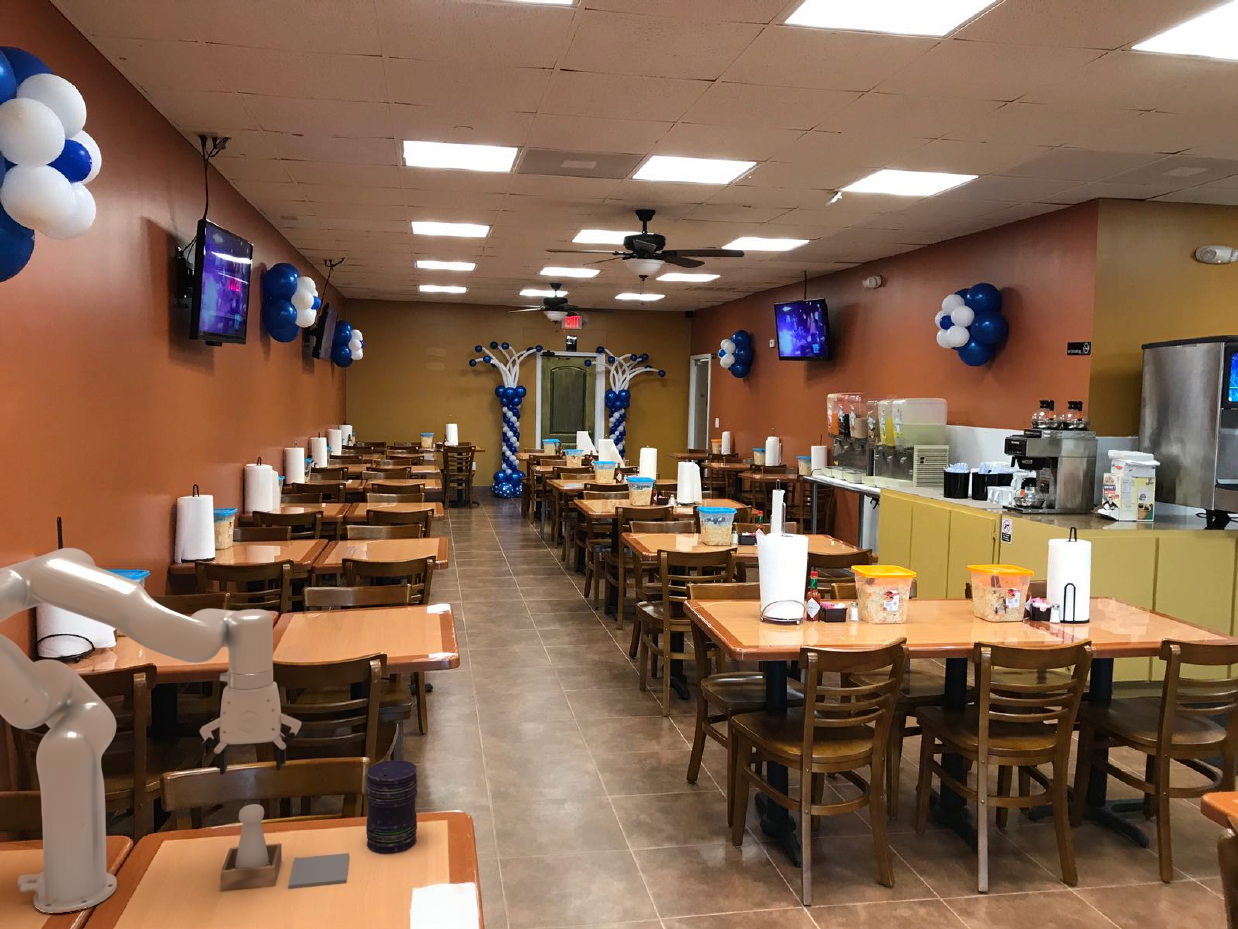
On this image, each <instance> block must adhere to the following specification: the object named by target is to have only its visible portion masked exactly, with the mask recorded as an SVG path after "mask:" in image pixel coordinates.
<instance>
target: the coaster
mask: <svg viewBox="0 0 1238 929" xmlns="http://www.w3.org/2000/svg"><path fill="white" fill-rule="evenodd" d="M349 858H350V853H349V852H348V853H336V854H325V855H316V856H315V855H314V856H305V857H304V856H303V857H295V858H293V863H292V868H291V871H290V877H289V879H288V880H289V881H288V885H287V888H288V889H297V888H304V887H303V886H308V887H317V886H327V885H328V886H329V885H337V883H338V884H346V883H347V877H348V867H349V861H348V860H350V859H349Z"/></svg>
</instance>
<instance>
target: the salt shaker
mask: <svg viewBox="0 0 1238 929" xmlns="http://www.w3.org/2000/svg"><path fill="white" fill-rule="evenodd" d="M264 815H265V810H264V807H263V806H262V805H260V804H256V803H255V804H253V803H252V804H247V805H245V806H244V807H241V809H240V810H239V813H238V820H239V822H240V823H241V824H242V825H241V830H240V836H239V843H238V846H237V847H238V853H237V858H236V863H235V867H234V869H244V868H255V867H266V866H268V865H269V864H268V862H269V858H268V853H267V848H266V840H265V835H264V829H263V824H262V820H263V818H264Z"/></svg>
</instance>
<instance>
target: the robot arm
mask: <svg viewBox="0 0 1238 929" xmlns="http://www.w3.org/2000/svg"><path fill="white" fill-rule="evenodd" d="M43 604H47V605H50V606H52V607H56V608H57V609H61V610H63V611H67V612H70V613H73V614H76V615H79V616H82V617H84V618H87V619H90V620H93V621H96V622H97V623H98V622H99V623H101V624H104V625H106V626H109V627H112V628H114V629H115V630H117V631H118V632H119V633H121V634H122V635H123V636H125V637H127V638H129V639H130V640H131V641H134V642H135V643H136V644H139V645H140V646H142V647H144V648H146V649H149V650H150V651H153V652H156V653H158V654H160V655H164V656H168V657H169V658H173V659H175V660H179V661H182V662H187V663H192V664H199V663H205V662H208V661H210V660H212V659H214V657H216V656H217V655H218V653H219V652H220V651H221V649H223V648H227V649H228V650H227V651H228V670H227V672H223V673H222V672H221V673H220V674H219V681H220V682H226V683H227V685H226V686H225V687H224V688H223V692H222V697H221V702H220V703H221V705H220V715H219V716H220V717H218V718H217V719H214V720H213V721H211V722H208V723H207V724H204V725H203V726H201V728H200V729H199V734H200V735H201V737H202V738H203V740H204V741H205V744H206V745H207V746H208V747H209V748H210V749H212V750H213V752H214V753H215V754H216V755H215V758H216V770H217V769H218V770H219V775H220V776H221V775H224V774H226V771H227V769H228V748H227V747H226V746H227V745H246V744H261V743H263V744H264V743H274V744H275V745H276V746H277V747H276V749H275V751H276V752H275V754H276V755H275V757H276V758H275V759H276V760H275V767H276V768H275V770H276V771H277V772H280V771H281V770H282V767H283V765H285V764H286V761H287V750H286V748H287V747H288V745H290V743H291V742H292V741H294V739H295V738H296V736H297V734H298V733H299V730H300V729H301V727H302V721H301V720H299V719H296V718H294V717H291V716H289V715H286V714H285V713H283V712H282V711H281V701H280V700H281V699H280V692H279V688H278V684H277V682H276V681H274V666H273V665H274V656H273V655H274V653H273V652H274V643H273V641H274V639H273V638H274V631H273V629H274V627H273V626H274V622H273V620H274V619H273V615H272V614H271V612H270V611H268V610H265V609H261V608H256V609H255V608H251V609H250V608H248V609H242V610H229V609H222V608H221V609H219V608H204V609H200V610H198V611H196V612H194V613H193V614H192V615H190V616H188V615H184V614H182V613H179V612H177V611H175V610H171V609H170V608H167V607H165V606H163V605H162V604H160V603H158V602H157V601H156V600H154V599H153V598H152V597H151V596H150V595H149V594H148V593H147V591H146V590H145V588H144V587H143V585H141V584H140V583H139V582H138V581H136V580H134V579H131V578H128V577H126V576H123V575H120V574H117V573H115V572H112V571H109V570H107V569H104V568H101V567H98V566H96V563H95V561H94V559H93V557H92V556H91V555H90V554H88V553H87V552H85V551H84V550H81V549H79V548H75V547H63V548H60V549H56V550H54V551H51V552H48V553H45V554H42V555H39V556H35V557H33V558H30V559H26V560H24V561H20V562H18V563H17V562H16V563H14V564H11V565H7V566H4V567H1V568H0V623H2V622H4V621H5V620H7V619H9V618H11V617H12V616H13V615H15V614H18V613H21V612H23V611H26V610H28V609H31V608H35V607H37V606H40V605H43ZM0 716H1V717H2V718H3V719H4V720H5V721H6V722H7V723H8V724H10V725H11V726H13V727H15V728H17V729H21V730H30V729H35V728H37V727H40V726H42V725H44V724H46V726H48V728H49V730H48V731H47V732H46V733H45V734H44V736H43V737H42V739H41V740H40V743H39V745H38V748H37V751H36V757H35V759H36V760H35V762H36V771H37V775H38V781H39V782H38V783H39V787H40V801H41V817H42V818H41V820H42V822H41V823H42V852H43V853H42V854H43V855H42V857H43V859H42V860H43V871H40V872H39V873H36V874H30V873H29V874H22V875H18V876H19V877H18V879H17V887H18V888H19V892H20V893H28V892H35V895H34V896H33V906H34V905H35V906H36V907H37V908H39V909H40V910H43V911H45V912H50V913H51V912H61V911H70V910H76V909H79V908H81V907H88V908H87V909H89V908H92V907H93V906H96V905H98V904H100V903H102V902H104V901H105V900H107V899H109V897H111V896H112V895H113V894H114V892H115V891H116V890H117V887H118V886H117V884H118V879H117V876H115V875H114V874H112V873H110V872H107V832H106V831H107V830H106V826H107V825H106V799H105V798H106V797H105V796H106V794H105V790H106V789H105V780H104V774H103V771H102V758H103V757H102V756H103V755H104V753H105V751H106V750H107V749H108V747H109V746H110V744H111V743H112V741H113V739H114V737H115V735H116V732H117V731H116V730H117V721H116V717H115V716H114V713H113V712H112V711H111V709H110V707H109V706H108V705H107V704H106V703H105V702H104V701H103V700H102V699H101V697H100V696H99V694H97V693H96V692H95V691H94V690H93V689H92V688H91V687H90V685H88V683H87V682H86V681H85V680H84V679H83V678H82V677H81V675H79V674H78V673H77V671H76V670H74V669H73V668H72V667H71V666H69V665H67V664H66V663H63V662H62V661H59V660H55V659H41V660H37V661H36V660H35V661H33V660H31V659H30V658H29V656H28V655H26V653H25V652H24V651H23V650H22V649H21V648H20V647H19V645H17V644H16V643H15V642H14V641H12V640H11V639H10V638H9V637H7V636H5V635H4V634H2V633H1V632H0ZM282 724H283V725H285V726H287V727H291V729H290V730H289V732H288V733H287V734H284V733H282V732H281V729H282ZM218 728H219V739H218V738H217V737H215V736H214V735H213V733H212V731H214V730H216V729H218Z"/></svg>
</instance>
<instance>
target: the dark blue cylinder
mask: <svg viewBox="0 0 1238 929" xmlns="http://www.w3.org/2000/svg"><path fill="white" fill-rule="evenodd" d="M417 770H418V769H417V765H416V764H415V763H413V762H411V761H408V760H400V759H398V760H397V759H393V760H386V761H381V762H377V763H375V764H372V765H371V766H370V767H368V768H367V770H366V784H365V786H366V795H365V796H366V801H367V817H366V827H365V830H366V831H365V833H366V847H368V848H367V849H368V850H369V851H370V852H371V853H374V852H375V853H374V854H377V853H378V854H377V855H396V853H397V854H400V853H403V852H406V851H409V850H410V849H413V847H414V846H415V845H416V843H417V829H418V822H417V818H418V817H417V812H416V798H417V794H418V790H417V789H418V788H417V787H418V779H417V776H418V775H417Z"/></svg>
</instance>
